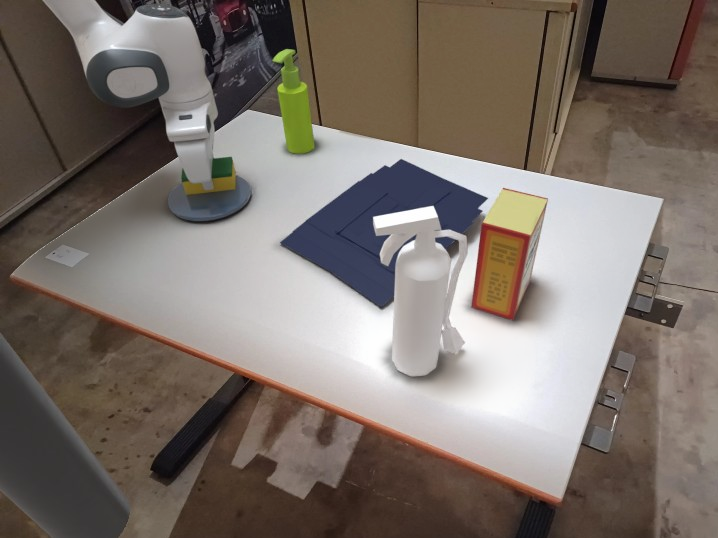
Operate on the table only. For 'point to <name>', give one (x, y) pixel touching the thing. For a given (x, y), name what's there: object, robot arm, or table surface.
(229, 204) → the plate
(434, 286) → the fire extinguisher
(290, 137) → the soap dispenser
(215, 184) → the sponge
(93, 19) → the robot arm
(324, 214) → the folded navy cloth
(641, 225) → the table surface
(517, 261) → the baking soda box
